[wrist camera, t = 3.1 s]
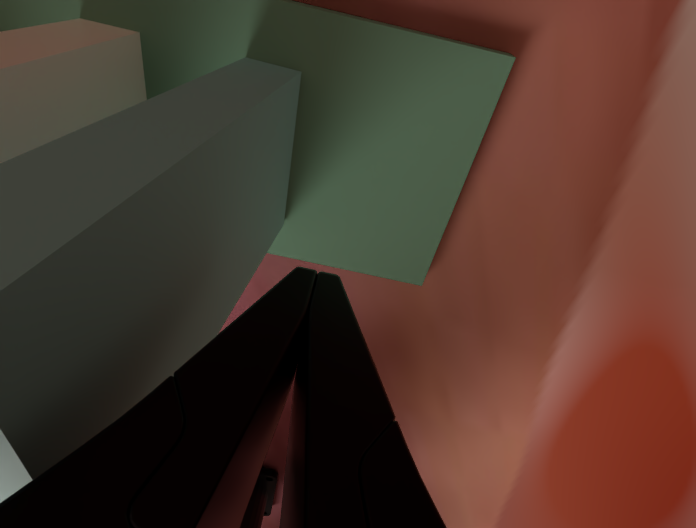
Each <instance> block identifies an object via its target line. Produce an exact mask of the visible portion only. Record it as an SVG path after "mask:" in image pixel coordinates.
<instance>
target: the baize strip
mask: <svg viewBox="0 0 696 528" xmlns="http://www.w3.org/2000/svg"><path fill="white" fill-rule="evenodd" d="M79 18H81V19H85V20H89V21H94V22H98V23H102V24H106V25H111V26H115V27H119V28H123V29H128V30H132V31H136V32H140V41H141V51H142V60H143V69H144V78H145V88H146V97H147V100H148V99H150V98H152V97H155V96H157V95H159V94H162V93H164V92H166V91H169V90H171V89H173V88H176V87H178V86H180V85H182V84H185V83H187V82H189V81H192V80H194V79H196V78H199V77H201V76H203V75H206V74H208V73H210V72H212V71H215V70H217V69H219V68H222V67H224V66H226V65H229V64H231V63H233V62H235V61H238V60H240V59H242V58H245V57H246V58H250V59H254V60H258V61H262V62H266V63H270V64H274V65H278V66H281V67H285V68H289V69H293V70H297V71H301V81H300V89H299V98H298V106H297V115H296V124H295V132H294V141H293V149H292V158H291V167H290V175H289V184H288V192H287V201H286V210H285V218H284V225H283V226H282V228H281V230H280V231H279V233H278V235H277V236H276V238H275V240H274V241H273V243H272V245H271V246H270V248H269V250H268V251H267V253H270V254H274V255H279V256H284V257H289V258H293V259H298V260H303V261H307V262H312V263H317V264H321V265H326V266H331V267H336V268H340V269H345V270H350V271H354V272H359V273H364V274H368V275H373V276H378V277H382V278H387V279H392V280H397V281H401V282H406V283H411V284H415V285H420V286H422V284H423V282H424V279H425V277H426V274H427V272H428V270H429V267H430V265H431V262H432V260H433V257H434V255H435V253H436V250H437V248H438V245H439V243H440V240H441V238H442V236H443V233H444V231H445V228H446V226H447V223H448V221H449V219H450V216H451V214H452V211H453V209H454V206H455V204H456V202H457V199H458V197H459V194H460V192H461V189H462V187H463V185H464V182H465V180H466V177H467V175H468V172H469V170H470V168H471V165H472V163H473V160H474V158H475V155H476V153H477V151H478V148H479V146H480V143H481V141H482V138H483V136H484V134H485V131H486V129H487V126H488V124H489V121H490V119H491V117H492V114H493V112H494V109H495V107H496V104H497V102H498V100H499V97H500V95H501V92H502V90H503V88H504V85H505V83H506V80H507V78H508V75H509V73H510V71H511V68H512V66H513V63H514V61H515V58H516V57H514V56H513V55H512V54H510V53H506V52H502V51H498V50H494V49H490V48H485V47H481V46H477V45H473V44H469V43H465V42H461V41H457V40H453V39H449V38H444V37H440V36H436V35H432V34H428V33H424V32H420V31H416V30H412V29H407V28H403V27H399V26H395V25H391V24H387V23H383V22H379V21H375V20H370V19H366V18H362V17H358V16H354V15H350V14H346V13H342V12H338V11H333V10H329V9H325V8H321V7H317V6H313V5H309V4H305V3H301V2H296V1H292V0H0V32H2V31H8V30H14V29H20V28H25V27H31V26H37V25H43V24H49V23H55V22H61V21H67V20H73V19H79Z"/></svg>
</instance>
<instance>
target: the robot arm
mask: <svg viewBox="0 0 696 528" xmlns="http://www.w3.org/2000/svg"><path fill="white" fill-rule="evenodd" d="M296 369H297V370H296ZM295 373H296V375H295ZM294 376H295V381H294V388H293V397H292V407H291V418H290V428H289V438H288V448H287V458H286V468H285V478H284V488H283V498H282V508H281V518H280V528H446V526H445V524H444V522H443V520H442V518H441V516H440V514H439V512H438V510H437V508H436V506H435V504H434V502H433V500H432V498H431V496H430V494H429V492H428V490H427V488H426V486H425V484H424V482H423V480H422V478H421V476H420V474H419V472H418V469H417V467H416V465H415V462H414V460H413V458H412V456H411V453H410V451H409V449H408V446H407V444H406V442H405V439H404V437H403V434H402V431H401V429H400V426H399V424H398V422H397V421H394V420H395V414H394V412H393V409H392V407H391V404H390V402H389V399H388V397H387V394H386V392H385V389H384V387H383V384H382V382H381V379H380V377H379V374H378V372H377V369H376V367H375V364H374V362H373V359H372V357H371V354H370V352H369V349H368V347H367V344H366V342H365V339H364V337H363V334H362V332H361V329H360V327H359V324H358V322H357V319H356V317H355V314H354V312H353V309H352V307H351V304H350V302H349V299H348V297H347V294H346V292H345V289H344V287H343V284H342V282H341V279H340V277H339V276H338V275H336V274H331V273H326V272H319V273H318V275H317V271H316V270H313V269H308V268H303V267H296V268H295V269H294V270H293V271H291V272H290V273H289V274H288V275H287V276H286V277H284V278H283V279H282V280H281V281H280V282H279V283H277V284H276V285H275V286H274V287H273V288H272V289H270V290H269V291H268V292H267V293H266V294H265V295H263V296H262V297H261V298H260V299H259V300H258V301H256V302H255V303H254V304H253V305H252V306H251V307H250V308H248V309H247V310H246V311H245V312H244V313H243V314H241V315H240V316H239V317H238V318H237V319H236V320H234V321H233V322H232V323H231V324H230V325H229V326H227V327H226V328H225V329H224V330H223V331H222V332H220V333H219V334H218V335H217V336H216V337H215V338H213V339H212V340H211V341H210V342H209V343H208V344H206V345H205V346H204V347H203V348H202V349H201V350H200V351H198V352H197V353H196V354H195V355H194V356H193V357H191V358H190V359H189V360H188V361H187V362H186V363H184V364H183V365H182V366H181V367H180V368H179V369H177V370H176V371H175V372H174V376H169V377H168V378H167V379H165V380H164V381H163V382H162V383H161V384H160V385H159V386H157V387H156V388H155V389H154V390H153V391H152V392H150V393H149V394H148V395H147V396H146V397H144V398H143V399H142V400H141V401H139V402H138V403H137V404H136V405H134V406H133V407H132V408H131V409H130V410H128V411H127V412H126V413H125V414H123V415H122V416H121V417H120V418H118V419H117V420H116V421H114V422H113V423H112V424H110V425H109V426H107V427H106V428H105V429H103V430H102V431H101V432H99V433H98V434H97V435H95V436H94V437H92V438H91V439H90V440H88V441H87V442H86V443H84V444H83V445H82V446H80V447H79V448H77V449H76V450H75V451H73V452H72V453H70V454H69V455H67V456H66V457H65V458H63V459H62V460H60V461H59V462H58V463H56V464H55V465H53V466H52V467H50V468H49V469H48V470H46V471H45V472H43V473H42V474H41V475H39V476H38V477H36V478H35V479H33V480H32V481H31V482H29V483H28V484H26V485H25V486H23V487H22V488H21V489H19V490H18V491H16V492H15V493H14V494H12V495H11V496H9V497H8V498H6V499H5V500H4V501H2V502H1V503H0V528H261V524H262V520H263V516H269V515H270V514H271V509H272V504H273V499H274V494H275V489H276V484H277V479H278V473H277V472H276V471H274V470H271V469H266V468H261V467H262V465H263V462H264V459H265V457H266V454H267V451H268V448H269V446H270V443H271V440H272V438H273V435H274V432H275V430H276V427H277V424H278V421H279V419H280V416H281V413H282V411H283V408H284V405H285V402H286V400H287V397H288V394H289V392H290V389H291V386H292V383H293V380H294Z"/></svg>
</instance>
